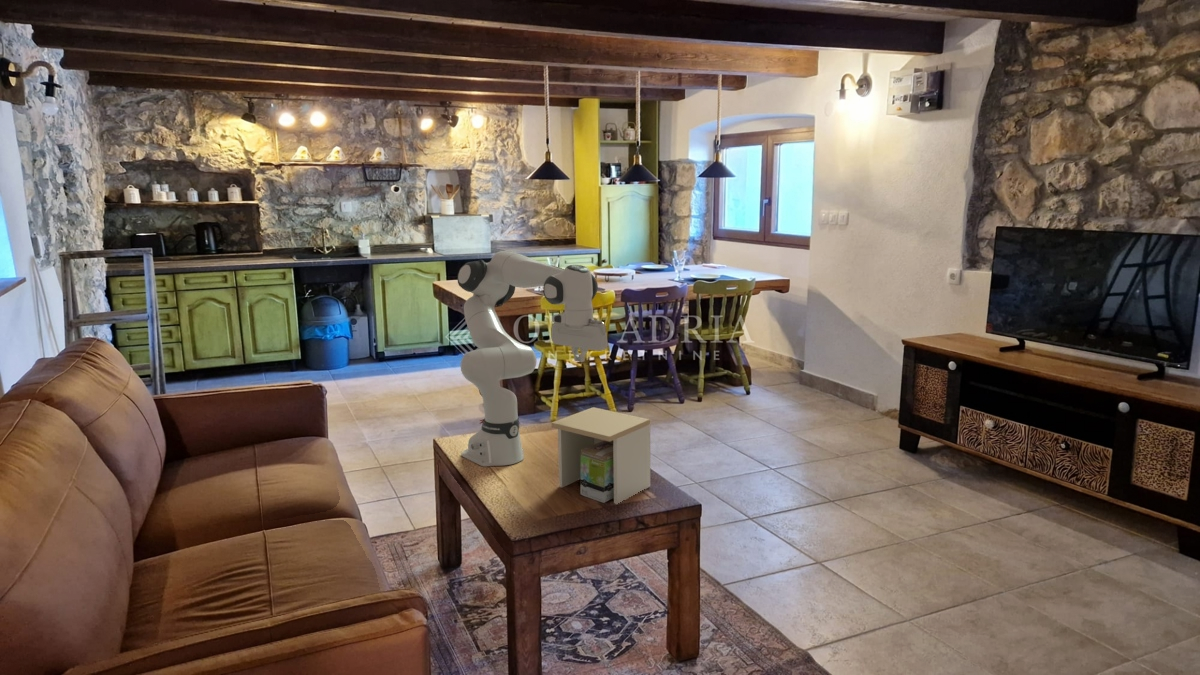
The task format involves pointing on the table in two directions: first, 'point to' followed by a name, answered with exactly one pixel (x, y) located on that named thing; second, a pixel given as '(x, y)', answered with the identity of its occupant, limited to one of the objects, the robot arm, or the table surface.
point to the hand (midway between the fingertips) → (579, 361)
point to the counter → (627, 448)
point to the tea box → (597, 471)
